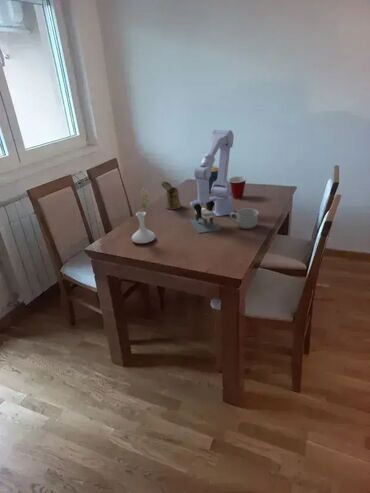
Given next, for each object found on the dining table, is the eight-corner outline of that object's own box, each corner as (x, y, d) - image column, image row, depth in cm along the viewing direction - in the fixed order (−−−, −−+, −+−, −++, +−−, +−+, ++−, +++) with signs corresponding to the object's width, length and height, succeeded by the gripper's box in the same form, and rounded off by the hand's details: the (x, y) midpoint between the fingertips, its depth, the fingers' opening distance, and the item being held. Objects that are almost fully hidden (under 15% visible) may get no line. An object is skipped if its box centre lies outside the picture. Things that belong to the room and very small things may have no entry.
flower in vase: (146, 247, 168) (140, 195, 157) (127, 243, 174) (120, 192, 163) (162, 236, 178) (157, 187, 167) (143, 232, 184) (138, 184, 173)
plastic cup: (225, 197, 227) (225, 178, 222) (240, 193, 231) (240, 175, 226) (234, 201, 218) (234, 182, 213) (249, 198, 222) (250, 179, 217)
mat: (188, 221, 195) (188, 219, 194) (210, 217, 197) (210, 216, 197) (198, 233, 179) (198, 232, 179) (221, 230, 181) (221, 229, 181)
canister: (199, 193, 236) (198, 166, 228) (202, 187, 248) (201, 161, 240) (220, 193, 234) (219, 166, 226) (221, 187, 245) (221, 161, 238)
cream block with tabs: (213, 224, 184) (213, 212, 182) (204, 226, 182) (204, 214, 180) (203, 218, 192) (203, 207, 190) (195, 220, 190) (194, 209, 188)
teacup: (259, 223, 186) (260, 208, 183) (256, 231, 177) (256, 216, 174) (232, 221, 191) (232, 207, 187) (228, 229, 182) (227, 214, 178)
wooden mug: (159, 211, 210) (156, 181, 202) (169, 203, 221) (167, 174, 213) (173, 213, 207) (171, 182, 199) (183, 205, 218) (181, 175, 210)
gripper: (211, 186, 186) (212, 211, 192) (186, 191, 180) (187, 217, 186) (219, 189, 180) (219, 215, 186) (193, 195, 175) (194, 221, 181)
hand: (204, 216), depth 186 cm, fingers closed on cream block with tabs, 5 cm apart
